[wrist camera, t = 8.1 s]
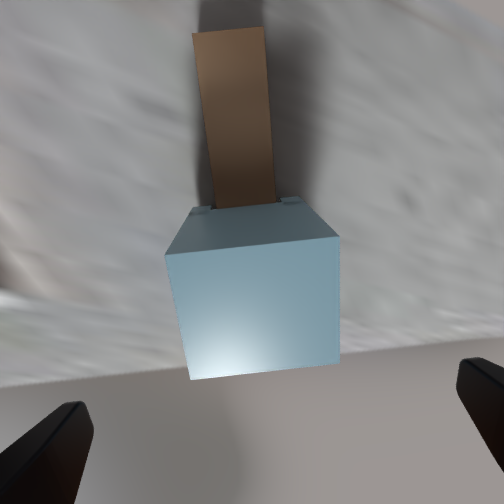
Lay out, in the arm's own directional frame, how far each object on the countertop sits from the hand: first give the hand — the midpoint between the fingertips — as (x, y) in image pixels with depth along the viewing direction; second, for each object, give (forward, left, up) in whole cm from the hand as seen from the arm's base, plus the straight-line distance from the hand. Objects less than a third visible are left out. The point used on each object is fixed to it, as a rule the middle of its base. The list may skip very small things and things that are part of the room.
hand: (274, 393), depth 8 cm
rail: (0, +3, -12) cm, 12 cm away
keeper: (0, 0, -12) cm, 12 cm away
